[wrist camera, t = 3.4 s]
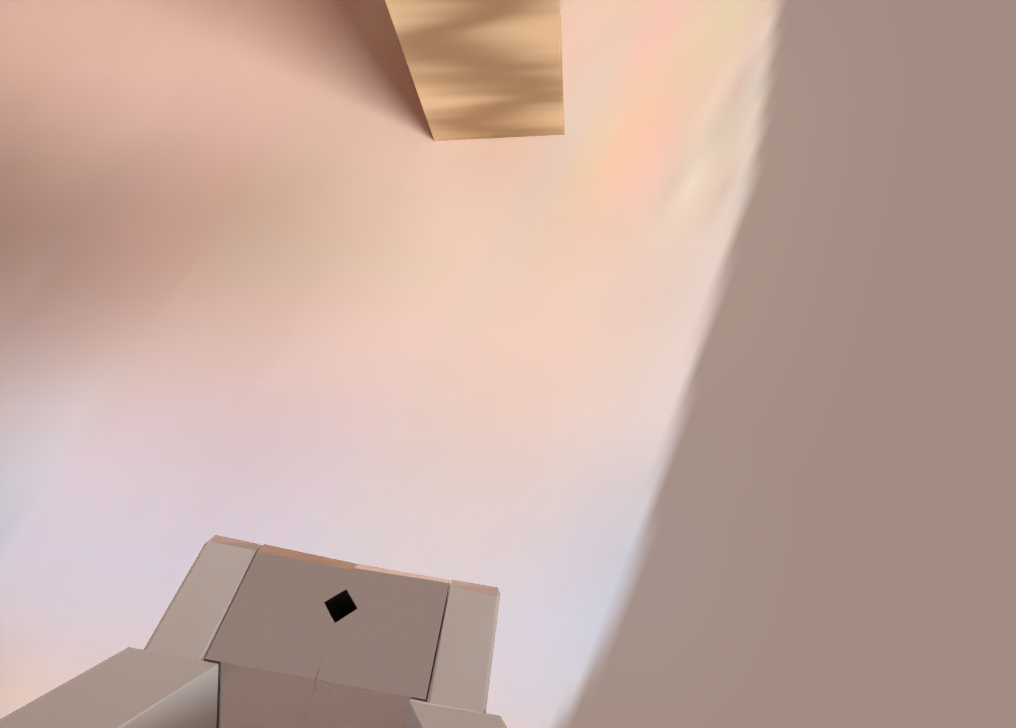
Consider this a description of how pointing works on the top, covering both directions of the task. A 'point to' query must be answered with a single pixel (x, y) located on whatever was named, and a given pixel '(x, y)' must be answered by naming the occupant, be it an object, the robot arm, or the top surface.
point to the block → (484, 65)
